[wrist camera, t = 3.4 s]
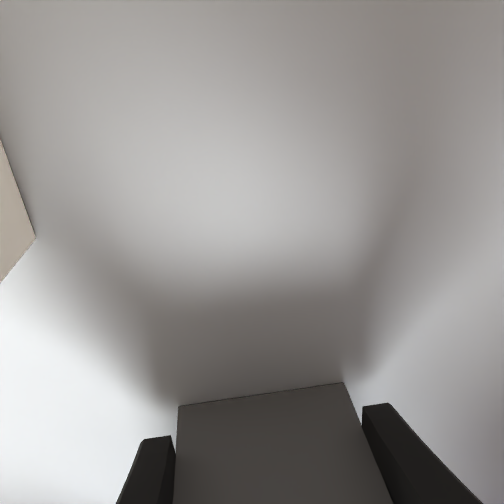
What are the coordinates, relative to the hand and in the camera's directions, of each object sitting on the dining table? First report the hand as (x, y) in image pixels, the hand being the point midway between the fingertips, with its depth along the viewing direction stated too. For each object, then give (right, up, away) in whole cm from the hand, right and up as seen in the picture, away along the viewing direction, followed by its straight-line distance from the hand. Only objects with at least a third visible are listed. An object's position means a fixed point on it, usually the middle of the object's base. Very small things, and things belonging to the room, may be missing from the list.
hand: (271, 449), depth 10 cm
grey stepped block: (0, -3, +3) cm, 4 cm away
